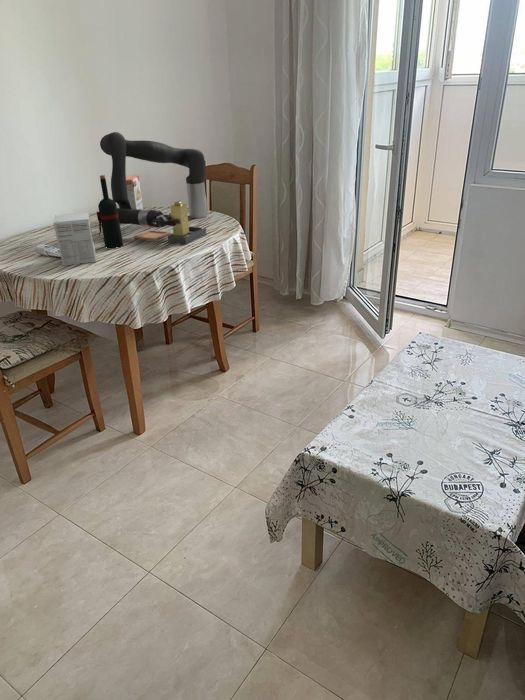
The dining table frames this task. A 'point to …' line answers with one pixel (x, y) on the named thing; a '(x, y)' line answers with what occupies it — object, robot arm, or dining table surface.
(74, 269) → the dining table surface
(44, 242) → the dining table surface
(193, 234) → the grey tray with studs
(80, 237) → the supplement box
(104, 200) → the wine bottle
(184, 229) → the tan tall block
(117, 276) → the dining table surface
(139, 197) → the cracker box
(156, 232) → the terracotta dish
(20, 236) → the dining table surface
